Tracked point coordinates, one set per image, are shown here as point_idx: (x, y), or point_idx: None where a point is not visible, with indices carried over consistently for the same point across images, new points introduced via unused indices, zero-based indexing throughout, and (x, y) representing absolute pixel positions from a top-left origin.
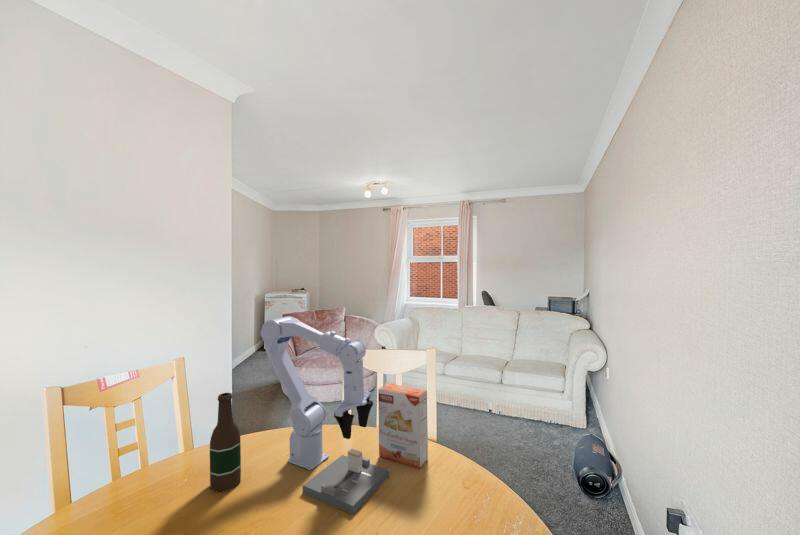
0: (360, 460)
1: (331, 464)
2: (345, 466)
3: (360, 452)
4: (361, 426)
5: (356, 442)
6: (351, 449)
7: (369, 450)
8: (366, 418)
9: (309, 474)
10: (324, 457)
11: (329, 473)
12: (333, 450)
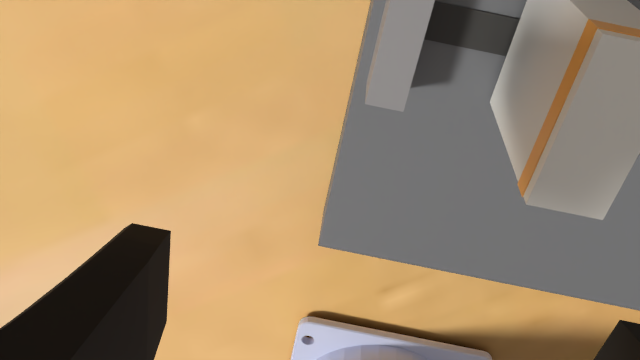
0: (608, 8)
1: (480, 268)
2: (487, 156)
3: (620, 49)
4: (167, 294)
5: (28, 217)
6: (546, 195)
7: (73, 70)
8: (82, 344)
9: (531, 340)
10: (336, 338)
11: (615, 234)
12: (210, 318)
